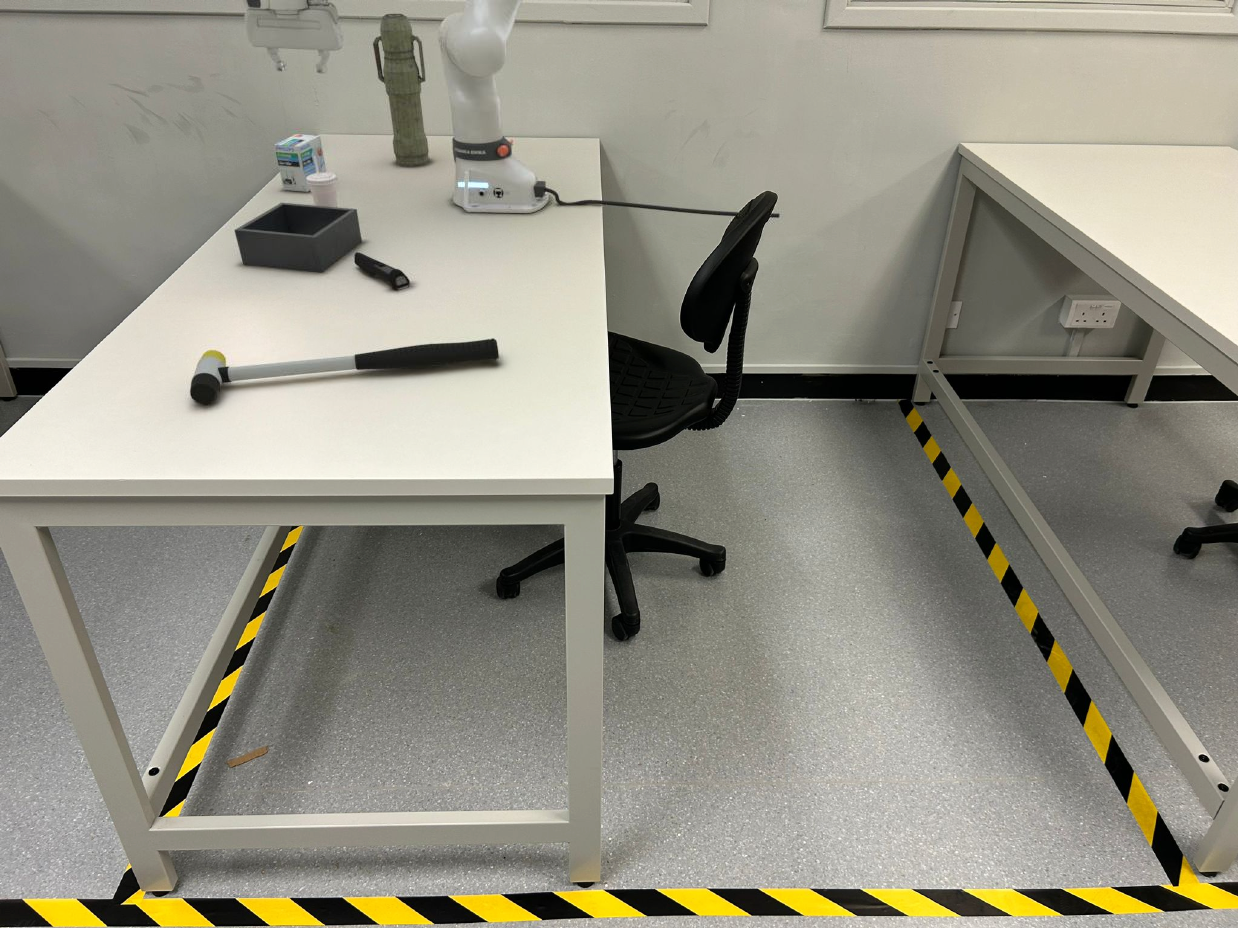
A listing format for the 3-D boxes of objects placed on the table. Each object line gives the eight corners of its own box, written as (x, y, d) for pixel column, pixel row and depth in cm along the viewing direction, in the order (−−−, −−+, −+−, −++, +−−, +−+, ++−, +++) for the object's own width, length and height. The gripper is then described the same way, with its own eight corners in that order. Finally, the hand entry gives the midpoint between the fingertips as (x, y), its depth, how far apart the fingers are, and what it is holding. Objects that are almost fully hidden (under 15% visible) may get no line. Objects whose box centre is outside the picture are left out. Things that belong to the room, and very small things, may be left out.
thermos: (391, 158, 231) (370, 13, 211) (435, 157, 232) (419, 12, 212) (388, 167, 224) (366, 18, 204) (434, 166, 225) (417, 17, 205)
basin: (362, 242, 179) (356, 209, 175) (322, 272, 166) (315, 237, 162) (288, 235, 182) (281, 202, 178) (242, 264, 169) (234, 230, 165)
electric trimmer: (368, 264, 170) (365, 248, 168) (412, 285, 161) (409, 269, 159) (351, 269, 168) (348, 253, 166) (394, 291, 159) (392, 275, 157)
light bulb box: (308, 192, 206) (299, 146, 200) (282, 190, 207) (272, 144, 201) (329, 180, 214) (321, 135, 208) (304, 178, 216) (295, 133, 209)
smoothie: (317, 216, 192) (305, 152, 184) (346, 215, 193) (335, 151, 185) (311, 226, 187) (298, 160, 179) (341, 225, 187) (329, 160, 179)
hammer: (192, 407, 124) (184, 383, 122) (203, 372, 133) (196, 349, 130) (502, 375, 133) (500, 352, 131) (494, 344, 141) (492, 323, 139)
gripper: (342, -2, 175) (354, 71, 183) (251, -6, 178) (266, 67, 186) (327, 2, 170) (340, 77, 178) (234, -2, 173) (250, 72, 181)
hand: (302, 72), depth 182 cm, fingers open, 8 cm apart
